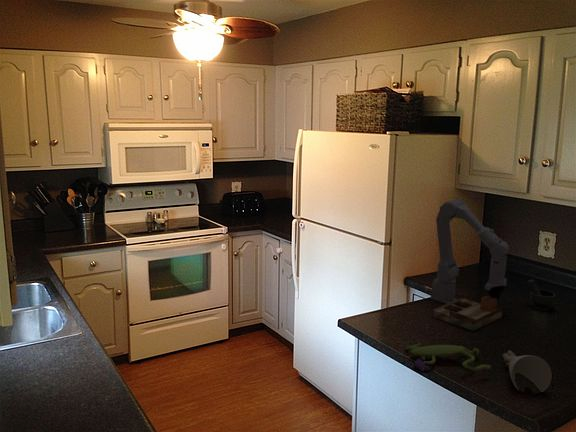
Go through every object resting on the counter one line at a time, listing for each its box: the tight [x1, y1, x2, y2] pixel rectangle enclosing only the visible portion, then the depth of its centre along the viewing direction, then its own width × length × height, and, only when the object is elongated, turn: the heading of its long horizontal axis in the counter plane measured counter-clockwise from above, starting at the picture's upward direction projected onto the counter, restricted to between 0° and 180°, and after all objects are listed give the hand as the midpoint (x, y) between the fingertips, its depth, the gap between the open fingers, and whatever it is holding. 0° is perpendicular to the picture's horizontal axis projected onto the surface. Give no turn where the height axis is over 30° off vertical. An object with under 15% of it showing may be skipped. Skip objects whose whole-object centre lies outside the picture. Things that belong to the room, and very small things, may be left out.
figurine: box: [404, 342, 492, 372], centre depth 170 cm, size 18×27×6 cm
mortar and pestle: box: [527, 278, 557, 312], centre depth 219 cm, size 11×9×12 cm
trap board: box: [431, 297, 504, 332], centre depth 208 cm, size 18×22×5 cm
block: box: [480, 295, 498, 312], centre depth 210 cm, size 4×4×4 cm
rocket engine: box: [502, 350, 553, 393], centre depth 162 cm, size 12×12×18 cm
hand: (493, 303), depth 213 cm, fingers closed
